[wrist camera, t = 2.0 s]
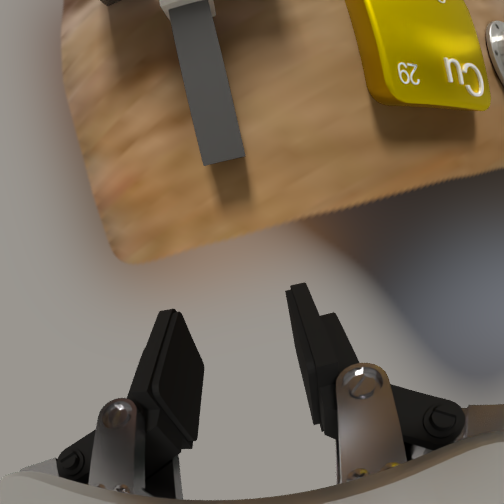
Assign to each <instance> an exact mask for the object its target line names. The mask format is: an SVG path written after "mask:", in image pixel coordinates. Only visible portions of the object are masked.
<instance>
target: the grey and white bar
mask: <svg viewBox="0 0 504 504" xmlns="http://www.w3.org/2000/svg"><path fill="white" fill-rule="evenodd" d="M159 1H160V7H161V8H162V10H163V11H164V13H165V14H166V16H167V17H168V19H169V21H170V22H171V26H172V30H173V35H174V40H175V45H176V49H177V54H178V59H179V63H180V68H181V72H182V77H183V81H184V86H185V90H186V94H187V99H188V103H189V107H190V111H191V116H192V120H193V124H194V128H195V132H196V137H197V141H198V145H199V149H200V153H201V157H202V161H203V165H204V166H206V165H210V164H214V163H218V162H222V161H226V160H231V159H235V158H239V157H244V156H245V152H244V148H243V143H242V139H241V134H240V130H239V126H238V121H237V117H236V113H235V108H234V104H233V100H232V96H231V91H230V87H229V83H228V79H227V75H226V70H225V66H224V62H223V58H222V54H221V50H220V46H219V42H218V37H217V33H216V29H215V25H214V21H213V17H214V16H216V12H215V6H214V1H213V0H159Z"/></svg>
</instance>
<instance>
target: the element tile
mask: <svg viewBox="0 0 504 504" xmlns="http://www.w3.org/2000/svg"><path fill="white" fill-rule="evenodd" d="M345 2H346V5H347V9H348V12H349V15H350V18H351V22H352V25H353V29H354V32H355V36H356V40H357V44H358V48H359V52H360V56H361V61H362V65H363V70H364V75H365V80H366V85H367V88H368V90H369V92H370V94H371V96H372V97H373V98H374V99H375V100H376V101H377V102H379V103H381V104H383V105H388V106H415V107H432V108H444V109H454V110H467V111H485V110H487V109H488V108H489V106H490V101H491V95H490V89H489V83H488V78H487V73H486V68H485V64H484V60H483V56H482V52H481V48H480V44H479V41H478V37H477V34H476V31H475V28H474V25H473V22H472V19H471V16H470V13H469V10H468V8H467V6H466V4H465V3H464V1H463V0H345Z"/></svg>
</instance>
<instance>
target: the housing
mask: <svg viewBox="0 0 504 504" xmlns="http://www.w3.org/2000/svg"><path fill="white" fill-rule="evenodd" d="M100 1H101V2H103V3H104V4H105V5H106V6H109V5H111V4H114V3H116V2H118V1H120V0H100Z"/></svg>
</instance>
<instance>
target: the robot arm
mask: <svg viewBox="0 0 504 504" xmlns="http://www.w3.org/2000/svg"><path fill="white" fill-rule="evenodd" d="M486 41H487V47H488V51H489V55H490V58H491V60H492V63H493V66H494V68H495V71H496V73H497V75H498V77H499V79H500V80H501V82H502V84H503V86H504V23H503V22H501V21H493V22H490V23H489V24H488V26H487V29H486ZM290 287H291V290H287V291H285V292H286V297H287V303H288V309H289V314H290V320H291V325H292V331H293V337H294V343H295V348H296V353H297V357H298V361H299V365H300V369H301V374H302V378H303V381H304V386H305V390H306V394H307V399H308V403H309V407H310V411H311V416H312V420H313V424H314V425H315V424H320V427H321V430H322V431H324V433H325V435H327V436H329V437H331V438H334V439H335V442H336V443H335V445H336V475H337V485H334V486H330V487H326V488H321V489H317V490H311V491H306V492H301V493H295V494H289V495H282V496H274V497H265V498H256V499H244V500H243V499H242V500H213V501H212V500H209V501H208V500H206V501H205V500H183V494H182V486H181V476H180V466H179V457H178V454H179V453H180V452H181V449H192V446H193V441H196V440H197V436H198V426H199V416H200V406H201V395H202V386H203V376H204V364H203V361H202V359H201V357H200V354H199V352H198V350H197V348H196V346H195V343H194V341H193V339H192V337H191V334H190V332H189V330H188V328H187V325H186V323H185V320H184V318H183V316H182V314H181V313H180V312H177V311H176V310H175V309H170V310H164V311H160V312H159V314H158V316H157V319H156V322H155V324H154V327H153V329H152V332H151V334H150V337H149V340H148V342H147V345H146V348H145V349H144V351H143V353H142V356H141V359H140V362H139V365H138V367H137V370H136V373H135V376H134V379H133V382H132V385H131V388H130V391H129V393H128V396H127V398H118V399H114V400H112V401H110V402H108V403H107V404H106V405H105V406H103V408H102V409H101V411H100V413H99V416H98V420H97V426H96V430H94V431H93V432H91V433H90V434H88V435H86V436H85V437H83V438H82V439H80V440H79V441H77V442H76V443H74V444H72V445H71V446H69V447H68V448H66V449H65V450H64V451H63V452H61V454H60V455H59V457H58V459H57V458H53V459H50V460H47V461H44V462H41V463H38V464H35V465H31V466H28V467H25V468H23V469H21V470H20V472H15V473H11V474H8V475H6V476H4V477H3V478H2V479H1V480H0V504H504V404H496V405H469V406H468V407H467V408H461V407H460V406H459V405H458V404H456V403H455V402H452V401H450V400H446V399H442V398H438V397H434V396H430V395H426V394H423V393H419V392H415V391H412V390H408V389H405V388H402V387H398V386H395V385H391V384H390V382H389V379H388V376H387V374H386V372H385V371H384V370H383V369H382V368H381V367H378V366H377V365H375V364H370V363H359V361H358V359H357V357H356V354H355V352H354V350H353V348H352V346H351V344H350V342H349V340H348V338H347V336H346V333H345V332H344V329H343V327H342V325H341V323H340V321H339V319H338V317H337V315H336V314H335V313H330V314H326V315H322V316H319V313H318V311H317V308H316V306H315V304H314V301H313V299H312V296H311V294H310V292H309V289H308V287H307V285H306V283H300V284H296V285H291V286H290Z"/></svg>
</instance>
